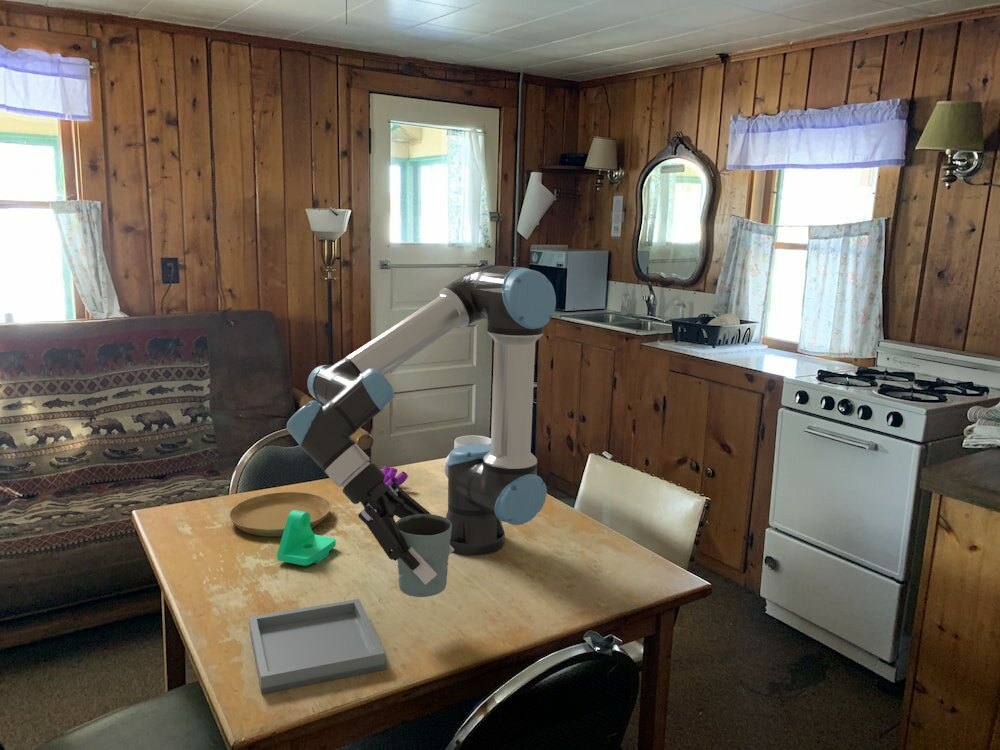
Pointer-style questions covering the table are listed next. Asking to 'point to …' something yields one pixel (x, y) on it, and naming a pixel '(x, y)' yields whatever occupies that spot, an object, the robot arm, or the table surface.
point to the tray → (314, 645)
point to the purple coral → (393, 476)
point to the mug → (467, 441)
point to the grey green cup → (425, 552)
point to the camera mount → (302, 541)
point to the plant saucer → (277, 512)
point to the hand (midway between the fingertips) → (440, 566)
